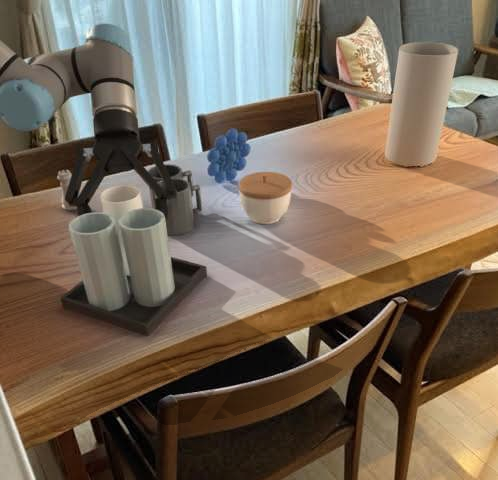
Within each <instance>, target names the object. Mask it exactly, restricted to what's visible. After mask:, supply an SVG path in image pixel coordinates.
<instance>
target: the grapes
mask: <svg viewBox="0 0 498 480" xmlns="http://www.w3.org/2000/svg"><path fill="white" fill-rule="evenodd" d="M247 141H248V135H247V133H246V132H245V131H240V132H238V130H237V129H236V128H230V129H228V130H227V132H226V134H225V135H224V134H222V135H221V134H220V135H218V136H217V137H216V138H215V140H214V147H215V148H212V149H210V150H209V151H208V152H207V156H206V158H207V159H206V160H207V161H208V163H209V165H208V166H207V169H206V171H207V172H206V173H207V174H208V176H209V177H214V178H213V179H214V182H215V183H216V184H223V182H225V180H226V181H227V182H232V181H234V180H235V179H236V177H237V175H238V172H241V171H244V170H245V168H246V166H247V159H246V157H248V156H249V155H250V153H251V145H250V144H249V143H247Z"/></svg>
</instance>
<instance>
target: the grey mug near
mask: <svg viewBox="0 0 498 480" xmlns="http://www.w3.org/2000/svg"><path fill="white" fill-rule="evenodd" d="M171 179H172V181H173V183H174V185H175V187H176V190H177V197H176V198H171V199H169V200H168V212H169V218H168V219H167V220H165V222H166V229H167V236H182V235H186V234H188V233H190V232H191V231H193V230H194V228H195V219H194V215H195V214H197V213H201V212H202V211H203V205H202V195H201V186H200V184H195V185H194V184H193V186H191V187H190V183H189V182H188V180H186V179H184V178H183V179H179V178H171ZM157 183H158V184H159V185H160V186H161V188H162V189H163V190H164V191H166V190H168V189H167V187H166V185H165V183H164V181H163V180H161V181H159V182H157ZM192 191H193V192H195V193H194V194H195V201H196V207H194V208H193V201H192V200H193V199H192V198H193V197H191V192H192ZM154 195H155V199H157V198H158V197H157V196H156V194H155V193H154Z"/></svg>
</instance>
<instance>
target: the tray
mask: <svg viewBox="0 0 498 480" xmlns="http://www.w3.org/2000/svg"><path fill="white" fill-rule="evenodd" d="M170 257H171V264H172V271H173V279H174V286H175V294H174V295H173V296H172V297H171V298H170V299H169V300H168V301H167V302H166V303H165V304H164V305H161V306H157V307H146V306H142V305H140V304H138V303H137V302H136V301H135V298H134V293H133V288H132V283H131V278H130V276H127V275H126V276H127V281H128V286H129V291H130V295H131V297H130V300H129V302H128V303H127V304H126V305H124V306H123V307H121V308H119V309H116V310H113V311H107V310H104V309H101V308H98V307H95V306H92V305H89V301H88V297H87V294H86V290H85V286H84V283H83V280H81V281H80V282H78V283H77V284H76V285H75V286H74V287H72V288H71V289H70V290H69V291H67V292H66V293H64V294H63V295H62V296H61V297H60V299H59V300H60V302H61V306H62V308H63V309H66V310H69V311H73V312H75V313H79V314H82V315H84V316H87V317H90V318H93V319H97V320H99V321H102V322H105V323H107V324H111V325H114V326H117V327H120V328H123V329H125V330H129V331H132V332H133V333H134V332H135V333H138V334H140V335H144V336H146V337H149V336H150V335H151V334H152V333H153V332H154V331H155V330H156V329H157V328H158V327H159V326H160V324H161V323H163V322H164V320H165V319H166V318H168V317H169V315H171V313H172V312H173V311H174V310H175V309H176V308H177V307H178V306H179V305H180V304H181V303H182V302H183V301H184V300H185V299H186V298H187V297H188V296H189V295H190V294H191V293H192V292H193V290H195V289H196V288H197V287H198V285H200V283H202V282H203V280H205V278H207V276H208V271H207V270H208V269H207V266H206V265H203V264H199V263H195V262H192V261H188V260H184V259H180V258H178V257H173V256H170Z"/></svg>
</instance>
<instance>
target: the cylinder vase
mask: <svg viewBox="0 0 498 480" xmlns="http://www.w3.org/2000/svg"><path fill="white" fill-rule="evenodd" d="M458 54H459V48H458V47H457V46H454V45H451V44H447V43H441V42H435V41H434V42H433V41H417V42H409V43H405V44H402V45H400V46H399V49H398V55H397V64H396V69H395V77H394V84H393V92H392V97H391V98H392V99H391V105H390V113H389V121H388V128H387V134H386V143H385V149H384V157H385V159H386V160H387V159H388V160H387V161H389V162H390V161H391V162H390V163H391V164H394V165H396V166H399V167H405V168H409V167H408V166H420V167H419V168H423V167H428V166H430V165H431V164H430V163H432V164H433V163H434V162H436V160H437V157H438V152H439V147H440V143H441V137H442V134H443V128H444V124H445V123H444V122H445V118H446V112H447V108H448V102H449V98H450V94H451V89H452V83H453V78H454V73H455V68H456V64H457V59H458ZM392 162H393V163H392ZM395 163H396V164H395ZM398 164H399V165H398ZM428 164H429V165H428ZM402 165H405V166H402ZM424 165H426V166H424Z"/></svg>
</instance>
